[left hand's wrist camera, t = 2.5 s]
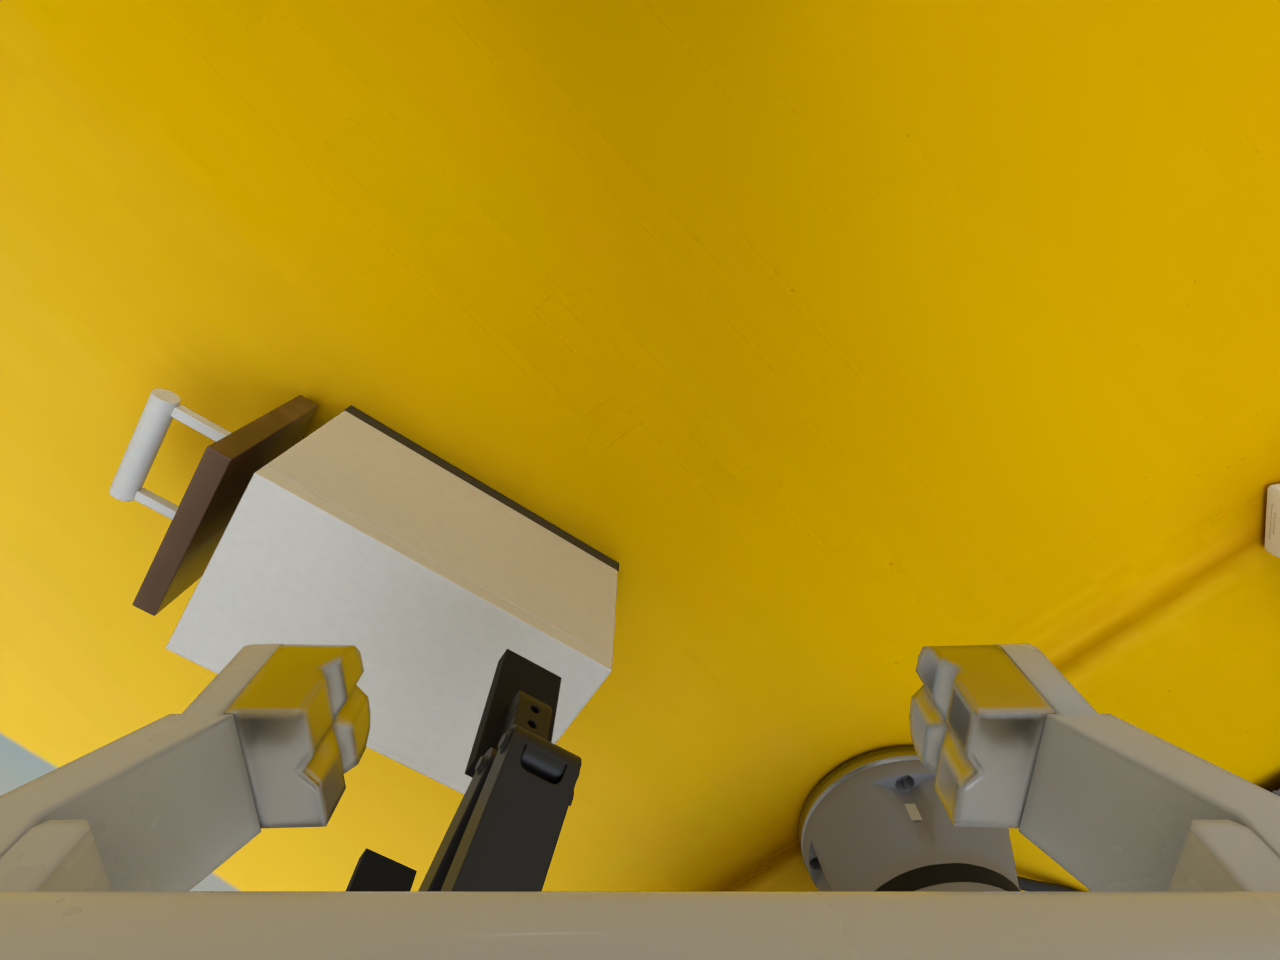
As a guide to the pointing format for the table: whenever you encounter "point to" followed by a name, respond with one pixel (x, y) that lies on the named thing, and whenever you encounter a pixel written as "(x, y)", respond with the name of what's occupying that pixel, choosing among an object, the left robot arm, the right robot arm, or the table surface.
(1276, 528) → the ink box
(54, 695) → the table surface
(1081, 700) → the left robot arm
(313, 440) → the cabinet
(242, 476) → the drawer
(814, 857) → the right robot arm
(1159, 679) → the table surface
